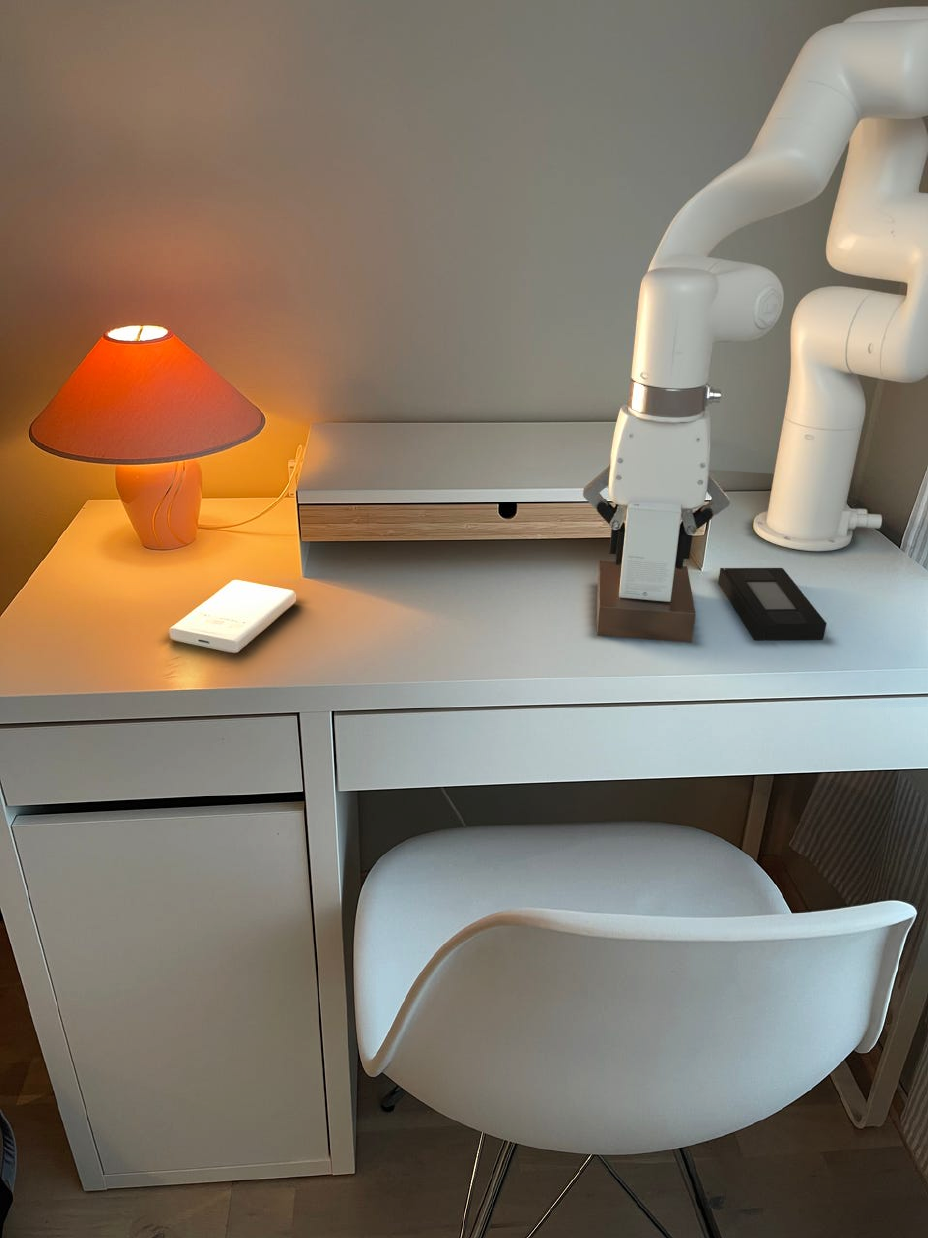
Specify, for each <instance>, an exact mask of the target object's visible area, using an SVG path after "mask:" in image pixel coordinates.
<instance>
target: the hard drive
mask: <svg viewBox="0 0 928 1238" xmlns="http://www.w3.org/2000/svg"><path fill="white" fill-rule="evenodd" d="M296 603H297V593H296V592H295V590H291V589H288V588H287V589H286V588H281V587H276V586H270V585H265V584H260V583H255V582H250V581H244V580H240V579H239V580H238V579H234V580H231V582H230V581H229V583H228V584H226V585H225V586H224V587H222V588H221V589H220V590H219V591H217V592H216V593H214V594H213V595H212V596H211V597H209V598H208V599H207V600H205V601H204V602H202V604H200V605H199V606H198V607H196V608H195V609H193V610H192V611H191V612H190V613H188V614H187V615H186V616H185V617H183V618H181V619H180V620H179V621H178V622H176V623H175V624H174V625H172V626H171V627H170V628H169V629H168V632H169V638H170V639H171V640H173V641H175V642H179V643H184V644H189V645H193V646H199V647H204V648H208V649H212V650H218V651H221V652H226V653H232V654H235V653H239V652H240V651H241V650H242V649H244V648H245V647H247V646H248V644H250V643H251V642H252V641H253V640H254V639H255V638H257V636H260V634H261V633H262V632H264V631H265V630H266V629H267V628H268V627H269V626H270V625H272V623H274V622H275V621H277V619H278V618H280V617H281V615H283V614H284V613H285V612H286V611H287V610H289V609H290V608H291V607H292V606H293V605H295V604H296Z"/></svg>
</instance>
